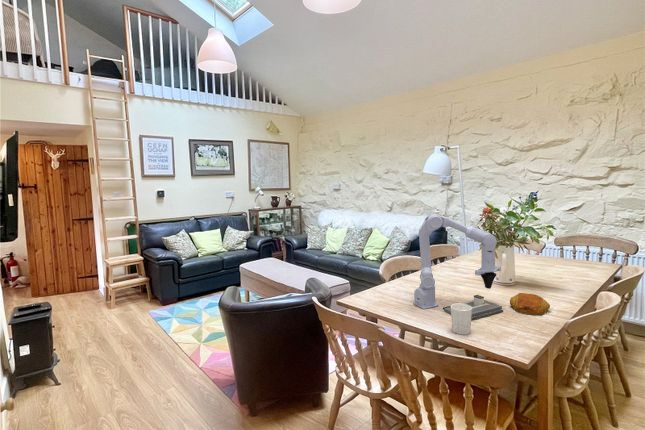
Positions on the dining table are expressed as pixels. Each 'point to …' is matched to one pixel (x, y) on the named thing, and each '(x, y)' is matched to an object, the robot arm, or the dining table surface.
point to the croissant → (529, 304)
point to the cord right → (486, 315)
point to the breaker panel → (479, 308)
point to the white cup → (461, 318)
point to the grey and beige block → (478, 300)
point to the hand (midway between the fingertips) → (488, 288)
